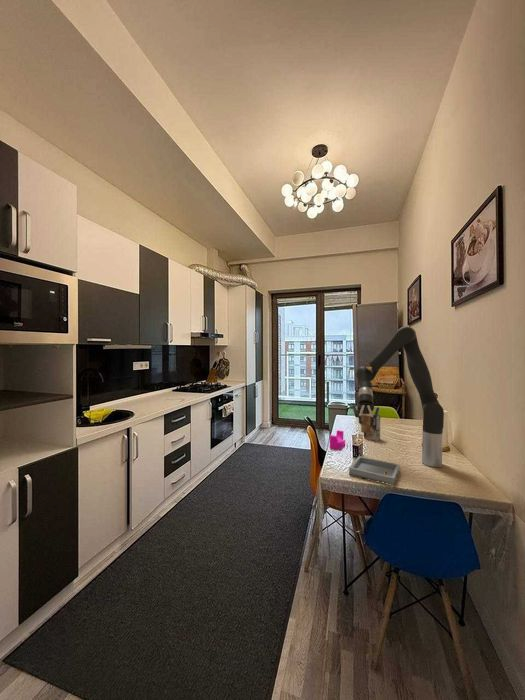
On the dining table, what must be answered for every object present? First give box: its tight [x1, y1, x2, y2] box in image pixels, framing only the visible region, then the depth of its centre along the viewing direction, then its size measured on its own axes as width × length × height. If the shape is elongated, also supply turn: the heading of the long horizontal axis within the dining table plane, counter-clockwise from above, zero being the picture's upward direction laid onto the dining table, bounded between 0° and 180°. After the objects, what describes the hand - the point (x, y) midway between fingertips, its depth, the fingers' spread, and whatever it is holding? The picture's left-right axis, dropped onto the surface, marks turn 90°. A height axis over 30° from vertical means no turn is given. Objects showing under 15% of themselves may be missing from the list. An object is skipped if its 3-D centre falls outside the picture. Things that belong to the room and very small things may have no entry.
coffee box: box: [363, 413, 381, 442], centre depth 196 cm, size 9×6×16 cm
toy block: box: [329, 429, 346, 451], centre depth 182 cm, size 15×6×8 cm, turn 147°
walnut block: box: [360, 413, 371, 434], centre depth 152 cm, size 4×4×9 cm
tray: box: [348, 455, 401, 486], centre depth 143 cm, size 20×18×4 cm
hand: (366, 424), depth 150 cm, fingers closed on walnut block, 4 cm apart
